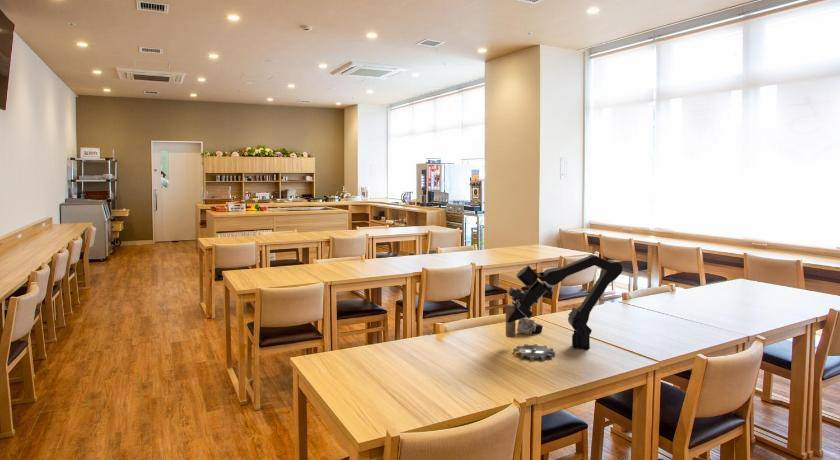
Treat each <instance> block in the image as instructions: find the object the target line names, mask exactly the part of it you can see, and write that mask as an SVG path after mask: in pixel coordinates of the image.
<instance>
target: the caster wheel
mask: <svg viewBox="0 0 840 460" xmlns="http://www.w3.org/2000/svg"><path fill="white" fill-rule="evenodd" d="M543 327H544V326H543V325H542V324H538V323H536V322H535V320H534V319H531V318H527V317H526V318H522V319H518V323H517V328H516V333H520V334H525V335H528V336H532V334H533V332H539V333H541V332H542V331H543Z"/></svg>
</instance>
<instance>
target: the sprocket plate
mask: <svg viewBox="0 0 840 460" xmlns="http://www.w3.org/2000/svg"><path fill="white" fill-rule="evenodd" d="M513 354H514V356H515V357H520V360H530V361H531V362H534V361H537V360H538V361H541V362H544V361H545V360H547V359H548V360H552V359H553V357H556V351H554V348H552V347H551V348H550V347H548V346H547V345H538V343H537V344H536V343H533V344H532V345H531V344H527V343H526V344H523V345H517V346H516V348H513Z"/></svg>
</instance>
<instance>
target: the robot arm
mask: <svg viewBox="0 0 840 460" xmlns="http://www.w3.org/2000/svg"><path fill="white" fill-rule="evenodd" d="M594 266H595V267H597V268H601V269H600V271H599V272H600V274H599V277H598V278H597V280H596V281H595V283H594V285H593V287H592V288H591V289H590V290H589V292H588V294H587V296H586V297H585V298H584V300H583V302H582V303H581V304H580V305H579V306H578V307H574V306H573V307H572V309H571V311H570V312H569V313H568V317H567V321H568V322H567V323H568V324H569V326H571V327H572V329H573V333H572V335H571V337H572V338H571V344H572V347H573V348H574V349H583V350H584V349H585V350H591V347H590V346H591V343H590V339H591V338H590V337H591V333H592V331H593V330H592V328H590V326H588V322H589V319H590V314H591V312H592V310H593V309H594V307H595V305H596V304H597V302H599V300H600V299H601V296H603V293H604V292H605V291H606V289H607V287H608V286H609V285H610V283H612V282H614V281H615V280H616V279H617V278H618V277H619V276H620V275H621V274H622V272H623V266H622V264H621V263H619V262H618V261H615V260H614V259H608V260H607V259H605V258H602V257H599V256H598V255H595V254H593V253H592V254H589V255H588V256H585V257H584V258H583V257H582V258H581V259H578V260H575V261H573V262H571V263H569V264H566V265H563V266H557V267H550V268H547V269H545V270H544V271H540V272H535V270H533V269H532V267H531V266H530V265H528V264H527V265H526V266H525V267H524V268H522V269H520V270H519V271H518V273H516V278H517V279H518V280H519V281H520V282H521V283H522V284H523V285H524V286H525V287H529V288H528V289H524V290H521V289H519V288H518V287H517V288H516V287H514V286H510V287H509V290H508V292H507V294H508V296H510V297H511V304H513V305H515V311H514V312H513V314H512V315H511V316H510V318H509V319H508V320H507V322H508V323H510V322H513V321H519V319H522V318H527V319H531V318H532V317H533V312H532V306H533V305H535V304H538V303H539V300H540V299H541V298H542V297H543V295H545V293H546V292H548V293H549V294H550V295H552V294H553V292H552V289H553V287H552V286H556V285H557V284H559V283H561V282H562V281H564V280H565V279H566V278H567V277H569V276H572V275H575V274H576V273H579V272H581V271H583V270H586V269H589V268H591V267H594ZM538 279H539V280H538ZM540 281H541V282H540Z"/></svg>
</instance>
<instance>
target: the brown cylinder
mask: <svg viewBox="0 0 840 460" xmlns="http://www.w3.org/2000/svg"><path fill="white" fill-rule="evenodd" d="M514 311H515V305H513V304H512V303H510V304H509V303H507V304H505V338H516V334H517V328H516V325H517V324H516V321H517V320H516V321H513V322H510V323H508V322H507V320H508V319H509V318H510V316H511V315H512V314H513V312H514Z"/></svg>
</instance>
